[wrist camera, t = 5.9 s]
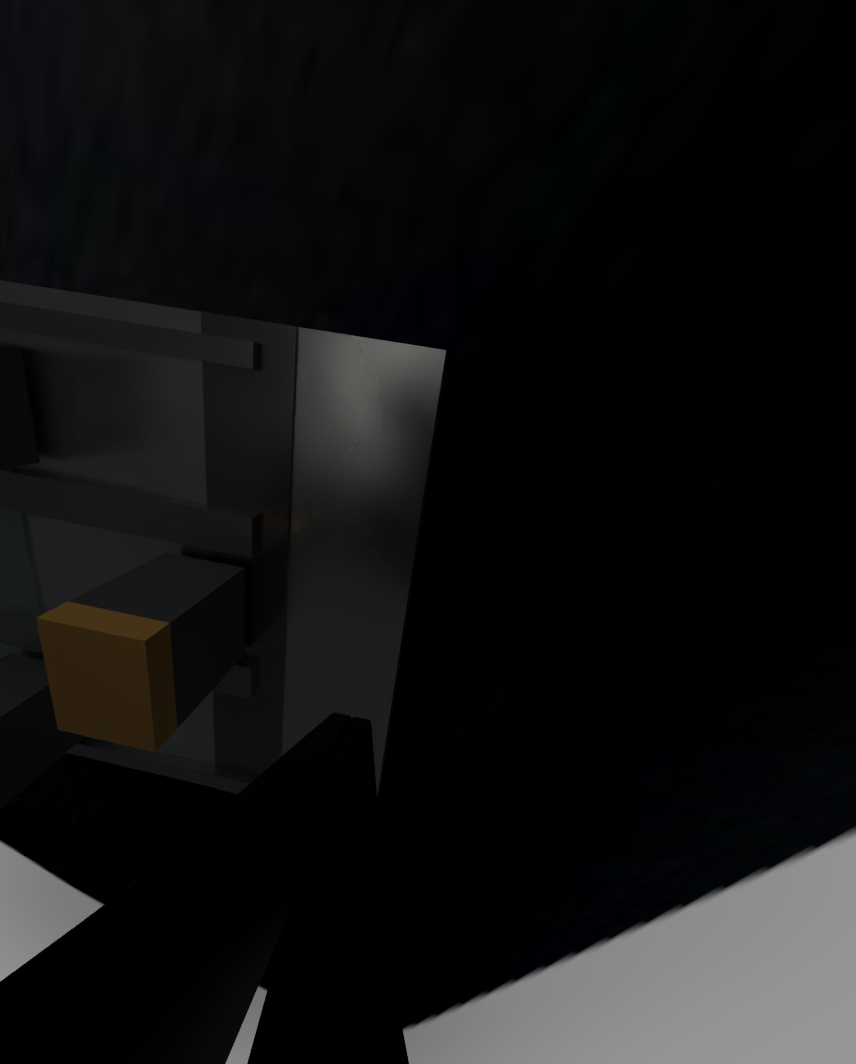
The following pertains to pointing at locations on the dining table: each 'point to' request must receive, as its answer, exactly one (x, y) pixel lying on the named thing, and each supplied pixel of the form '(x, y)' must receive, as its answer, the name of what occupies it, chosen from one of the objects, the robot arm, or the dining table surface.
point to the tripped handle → (143, 648)
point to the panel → (225, 503)
